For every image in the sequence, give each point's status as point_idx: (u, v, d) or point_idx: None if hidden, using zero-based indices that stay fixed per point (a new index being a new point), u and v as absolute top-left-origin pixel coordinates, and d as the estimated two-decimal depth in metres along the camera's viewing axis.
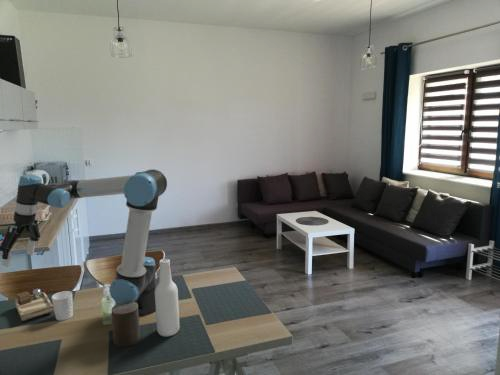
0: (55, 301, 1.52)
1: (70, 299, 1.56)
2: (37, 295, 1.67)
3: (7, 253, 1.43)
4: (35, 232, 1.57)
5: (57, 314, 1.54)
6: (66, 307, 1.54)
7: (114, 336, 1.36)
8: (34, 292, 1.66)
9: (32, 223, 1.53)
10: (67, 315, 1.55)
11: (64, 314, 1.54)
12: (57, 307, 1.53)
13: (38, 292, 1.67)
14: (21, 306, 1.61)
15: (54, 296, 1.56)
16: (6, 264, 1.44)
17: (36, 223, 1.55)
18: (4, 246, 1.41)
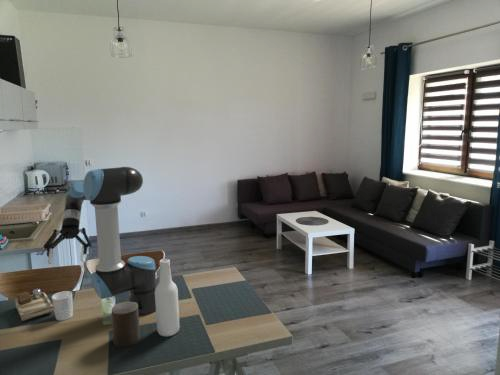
0: (55, 301, 1.52)
1: (70, 299, 1.56)
2: (37, 295, 1.67)
3: (48, 250, 1.65)
4: (86, 239, 1.71)
5: (57, 314, 1.54)
6: (66, 307, 1.54)
7: (114, 336, 1.36)
8: (34, 292, 1.66)
9: (78, 229, 1.73)
10: (67, 315, 1.55)
11: (64, 314, 1.54)
12: (57, 307, 1.53)
13: (38, 292, 1.67)
14: (21, 306, 1.61)
15: (54, 296, 1.56)
16: None
17: (83, 230, 1.73)
18: None
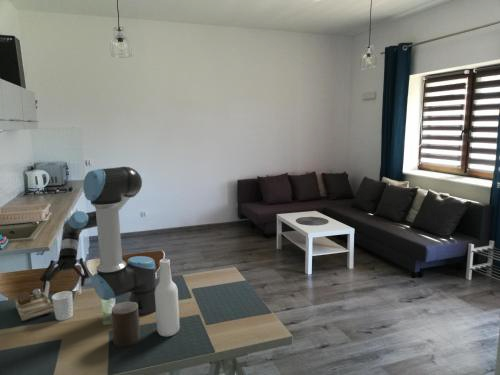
0: (55, 301, 1.52)
1: (70, 299, 1.56)
2: (37, 295, 1.67)
3: (45, 283, 1.61)
4: (83, 270, 1.66)
5: (57, 314, 1.54)
6: (66, 307, 1.54)
7: (114, 336, 1.36)
8: (34, 292, 1.66)
9: (75, 260, 1.68)
10: (67, 315, 1.55)
11: (64, 314, 1.54)
12: (57, 307, 1.53)
13: (38, 292, 1.67)
14: (21, 306, 1.61)
15: (54, 296, 1.56)
16: None
17: (81, 260, 1.68)
18: None
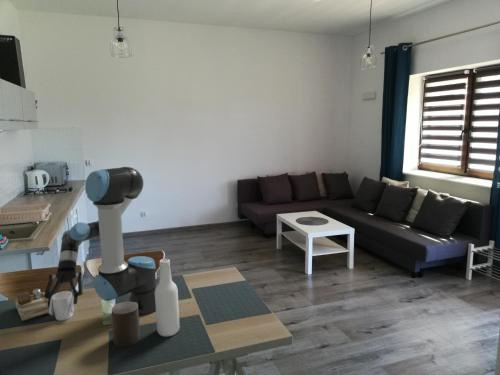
0: (55, 301, 1.52)
1: (70, 299, 1.56)
2: (37, 295, 1.67)
3: (49, 299, 1.55)
4: None
5: (57, 314, 1.54)
6: (66, 307, 1.54)
7: (114, 336, 1.36)
8: (34, 292, 1.66)
9: (74, 273, 1.63)
10: (67, 315, 1.55)
11: (64, 314, 1.54)
12: (57, 307, 1.53)
13: (38, 292, 1.67)
14: (21, 306, 1.61)
15: (54, 296, 1.56)
16: None
17: (79, 275, 1.63)
18: None
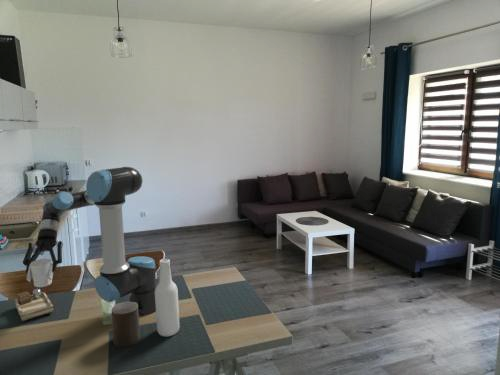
0: (33, 268, 1.52)
1: (48, 266, 1.55)
2: (37, 295, 1.67)
3: (28, 266, 1.55)
4: None
5: (35, 281, 1.54)
6: (44, 274, 1.54)
7: (114, 336, 1.36)
8: (34, 292, 1.66)
9: (54, 241, 1.62)
10: (46, 283, 1.55)
11: (42, 281, 1.54)
12: (35, 274, 1.53)
13: (38, 292, 1.67)
14: (21, 306, 1.61)
15: (33, 263, 1.56)
16: None
17: (59, 243, 1.62)
18: None
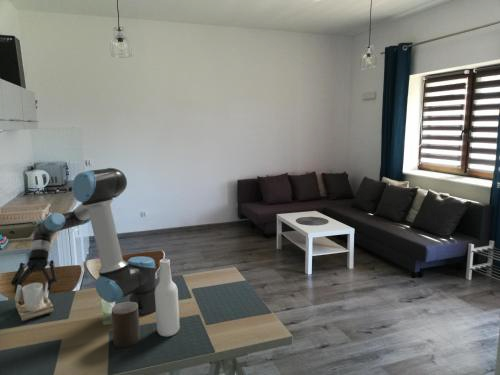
0: (25, 292, 1.54)
1: (40, 290, 1.57)
2: None
3: (16, 286, 1.57)
4: (52, 274, 1.62)
5: (27, 305, 1.56)
6: (36, 298, 1.56)
7: (114, 336, 1.36)
8: None
9: (46, 261, 1.65)
10: (37, 307, 1.57)
11: (34, 305, 1.56)
12: (27, 298, 1.55)
13: None
14: (21, 306, 1.61)
15: (24, 287, 1.58)
16: None
17: (51, 263, 1.64)
18: None
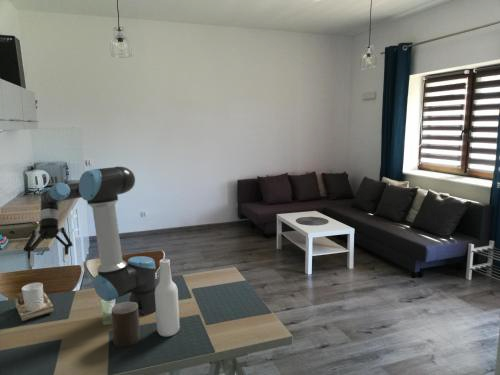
0: (25, 292, 1.54)
1: (40, 290, 1.57)
2: None
3: (29, 253, 1.66)
4: (66, 239, 1.71)
5: (27, 305, 1.56)
6: (36, 298, 1.56)
7: (114, 336, 1.36)
8: None
9: (57, 229, 1.72)
10: (37, 307, 1.57)
11: (34, 305, 1.56)
12: (27, 298, 1.55)
13: None
14: (21, 306, 1.61)
15: (24, 287, 1.58)
16: None
17: (62, 230, 1.72)
18: None
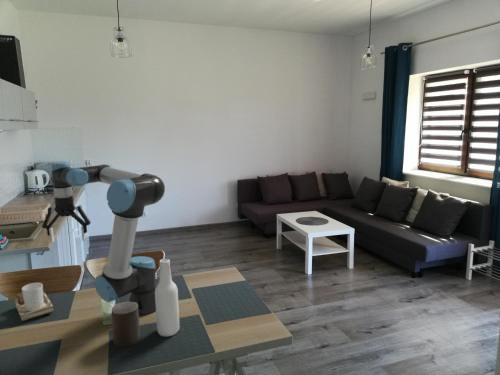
0: (25, 292, 1.54)
1: (40, 290, 1.57)
2: None
3: (48, 230, 1.66)
4: None
5: (27, 305, 1.56)
6: (36, 298, 1.56)
7: (114, 336, 1.36)
8: None
9: (73, 208, 1.66)
10: (37, 307, 1.57)
11: (34, 305, 1.56)
12: (27, 298, 1.55)
13: None
14: (21, 306, 1.61)
15: (24, 287, 1.58)
16: None
17: (79, 209, 1.66)
18: None
